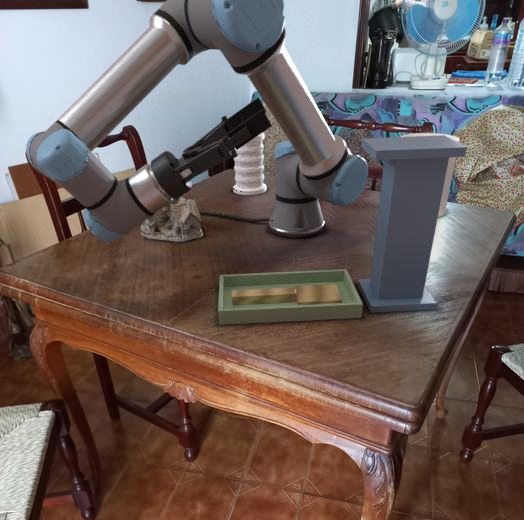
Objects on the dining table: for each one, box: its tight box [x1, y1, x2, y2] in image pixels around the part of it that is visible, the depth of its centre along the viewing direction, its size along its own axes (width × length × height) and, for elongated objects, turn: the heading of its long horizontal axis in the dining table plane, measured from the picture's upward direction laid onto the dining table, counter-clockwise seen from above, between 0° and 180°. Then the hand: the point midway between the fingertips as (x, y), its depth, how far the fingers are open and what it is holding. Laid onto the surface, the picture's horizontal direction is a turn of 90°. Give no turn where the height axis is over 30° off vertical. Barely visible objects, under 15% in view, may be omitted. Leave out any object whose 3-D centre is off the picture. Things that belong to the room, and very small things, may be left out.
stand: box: [356, 135, 468, 314], centre depth 89 cm, size 15×12×30 cm
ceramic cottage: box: [140, 194, 204, 243], centre depth 127 cm, size 16×16×15 cm
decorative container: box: [232, 132, 268, 196], centre depth 158 cm, size 12×12×18 cm
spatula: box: [232, 284, 342, 305], centre depth 96 cm, size 22×7×2 cm, turn 93°
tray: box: [217, 268, 364, 326], centre depth 96 cm, size 28×16×3 cm, turn 93°
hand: (265, 110), depth 77 cm, fingers open, 13 cm apart
